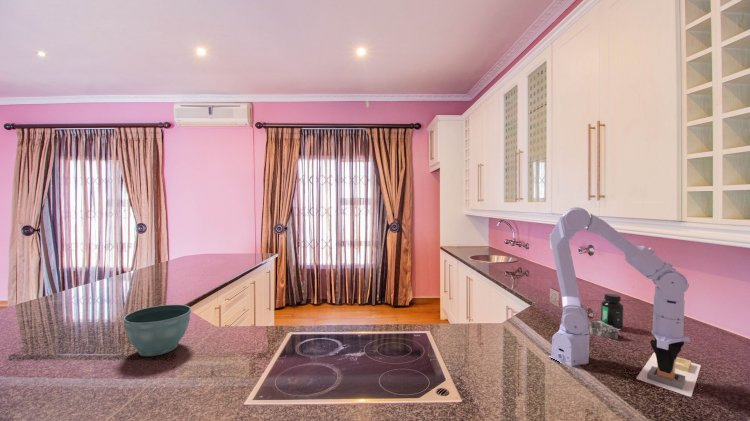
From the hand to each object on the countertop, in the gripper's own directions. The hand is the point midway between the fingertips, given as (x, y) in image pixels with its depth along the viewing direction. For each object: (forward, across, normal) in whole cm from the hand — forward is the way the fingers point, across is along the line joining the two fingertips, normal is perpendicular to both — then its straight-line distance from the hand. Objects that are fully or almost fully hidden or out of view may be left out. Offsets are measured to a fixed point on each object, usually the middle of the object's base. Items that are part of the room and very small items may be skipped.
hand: (666, 369), depth 81 cm
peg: (+2, 0, 0) cm, 2 cm away
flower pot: (+4, -96, +98) cm, 138 cm away
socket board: (+3, +6, 0) cm, 7 cm away
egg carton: (+4, +25, +20) cm, 33 cm away
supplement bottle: (+4, +36, +20) cm, 41 cm away
